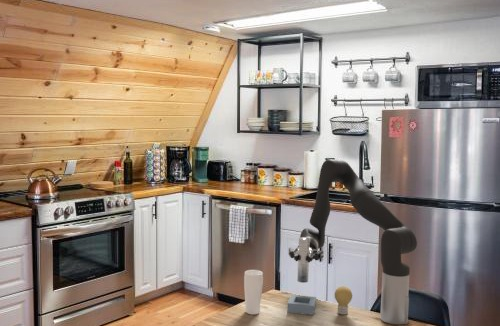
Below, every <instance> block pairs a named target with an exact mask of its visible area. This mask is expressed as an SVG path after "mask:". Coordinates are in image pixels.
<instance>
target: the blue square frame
mask: <svg viewBox="0 0 500 326" xmlns="http://www.w3.org/2000/svg"><path fill="white" fill-rule="evenodd" d="M287 301H288V302H287V304H286V305H287V306H286V307H287V311H286V313H288V312H290V313H289V314H297V313H301V314H300V315H306V314H310V315H309V316H314V315H315V312H314V311H316V308H317V297H316V296H309V295H308V296H307V295H300V294H299V295H297V294H291V295H290V296H289V299H288V300H287ZM302 313H303V314H302Z"/></svg>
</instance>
